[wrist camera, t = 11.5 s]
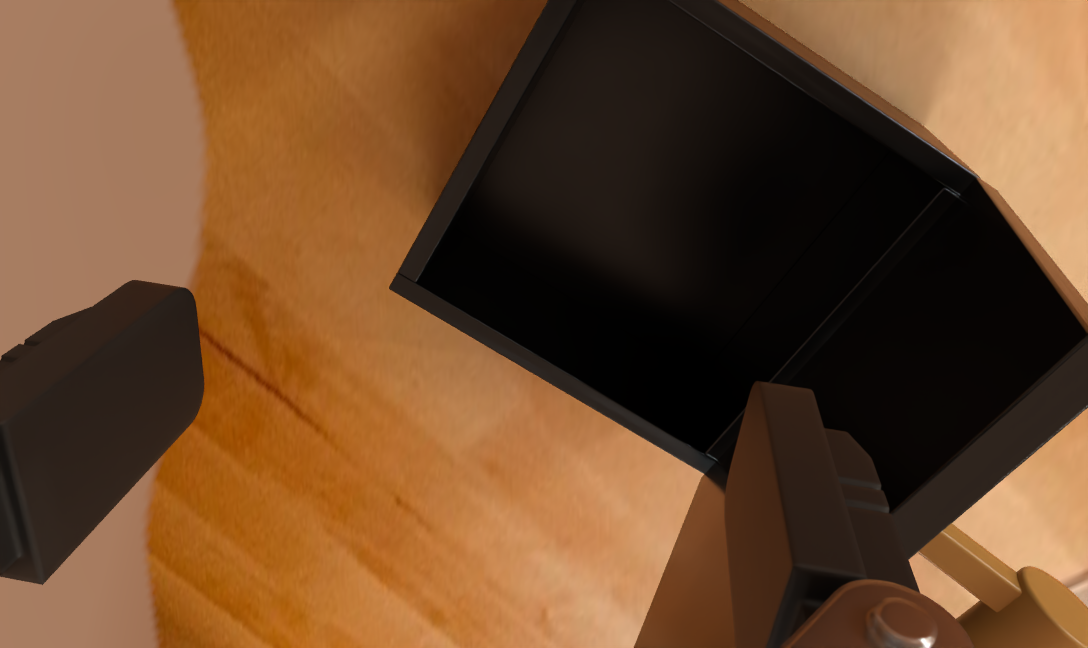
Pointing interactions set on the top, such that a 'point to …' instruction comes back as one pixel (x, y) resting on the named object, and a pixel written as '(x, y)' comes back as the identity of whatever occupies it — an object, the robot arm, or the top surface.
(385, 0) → the top surface
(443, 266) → the bread bin
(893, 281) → the bin lid
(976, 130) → the top surface
